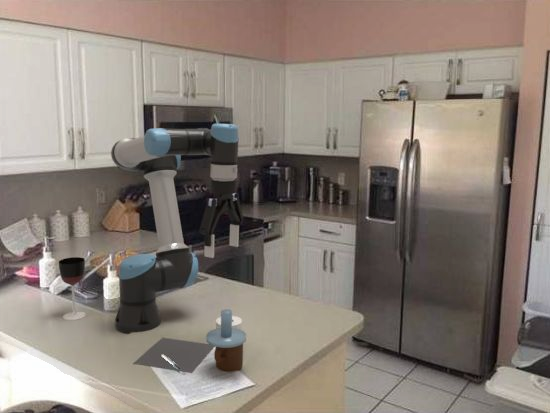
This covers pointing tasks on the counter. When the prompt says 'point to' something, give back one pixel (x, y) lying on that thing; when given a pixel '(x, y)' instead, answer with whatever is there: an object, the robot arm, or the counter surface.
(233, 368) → the mug
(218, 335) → the lid
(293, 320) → the counter surface
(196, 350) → the mat
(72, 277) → the wineglass
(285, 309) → the counter surface
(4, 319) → the counter surface
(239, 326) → the toilet paper
